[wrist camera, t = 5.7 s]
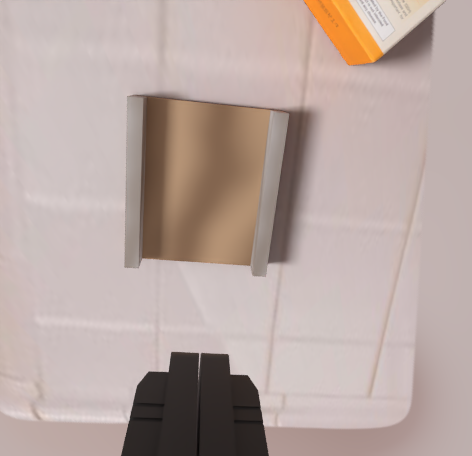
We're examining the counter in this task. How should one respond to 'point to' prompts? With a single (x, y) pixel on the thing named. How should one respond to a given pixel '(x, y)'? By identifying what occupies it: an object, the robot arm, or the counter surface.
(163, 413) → the robot arm
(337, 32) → the supplement box
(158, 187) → the track
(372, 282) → the counter surface
